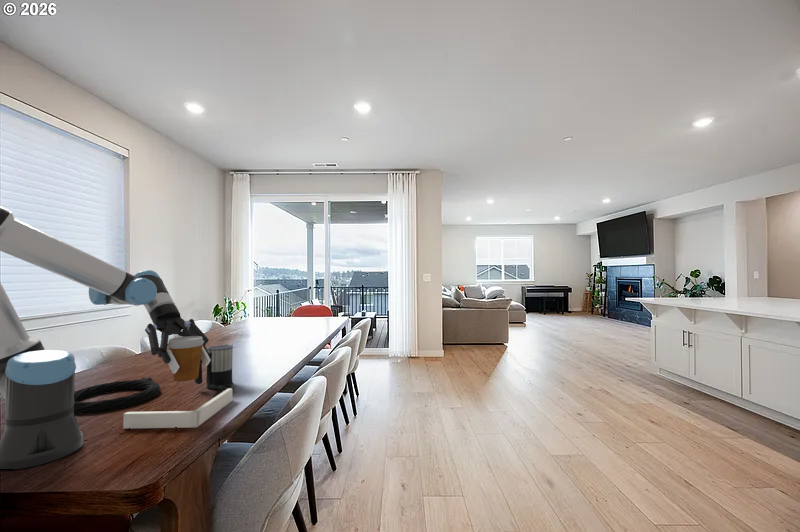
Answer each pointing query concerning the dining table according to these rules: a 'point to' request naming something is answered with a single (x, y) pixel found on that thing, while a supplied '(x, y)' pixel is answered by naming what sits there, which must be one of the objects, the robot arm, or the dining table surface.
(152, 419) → the bracket
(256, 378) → the dining table surface
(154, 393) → the cable lock
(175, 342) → the disposable coffee cup
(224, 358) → the milk frother
